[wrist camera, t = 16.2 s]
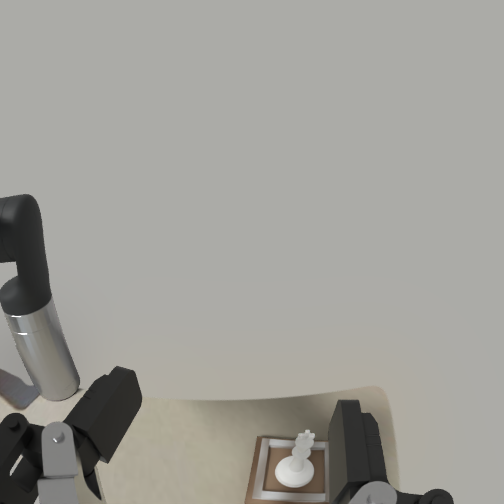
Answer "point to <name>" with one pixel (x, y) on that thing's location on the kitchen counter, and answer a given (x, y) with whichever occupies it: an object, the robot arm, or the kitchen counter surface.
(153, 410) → the kitchen counter surface
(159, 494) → the kitchen counter surface
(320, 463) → the walnut board
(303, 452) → the chess piece
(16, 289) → the robot arm
